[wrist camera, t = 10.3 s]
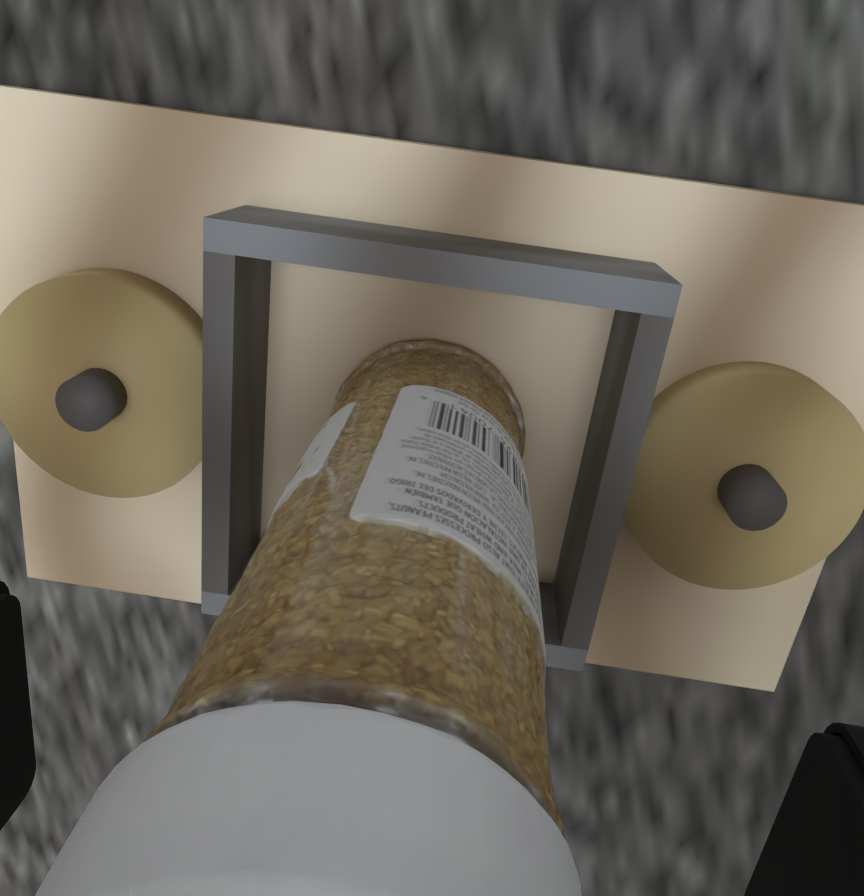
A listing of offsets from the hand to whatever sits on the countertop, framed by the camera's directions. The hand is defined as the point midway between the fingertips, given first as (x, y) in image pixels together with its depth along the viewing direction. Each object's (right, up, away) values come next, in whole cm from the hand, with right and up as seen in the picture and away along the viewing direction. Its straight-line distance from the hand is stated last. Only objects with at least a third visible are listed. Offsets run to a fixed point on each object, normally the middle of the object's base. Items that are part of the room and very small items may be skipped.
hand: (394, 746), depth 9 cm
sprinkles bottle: (0, +4, +9) cm, 10 cm away
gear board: (0, +5, +10) cm, 11 cm away
